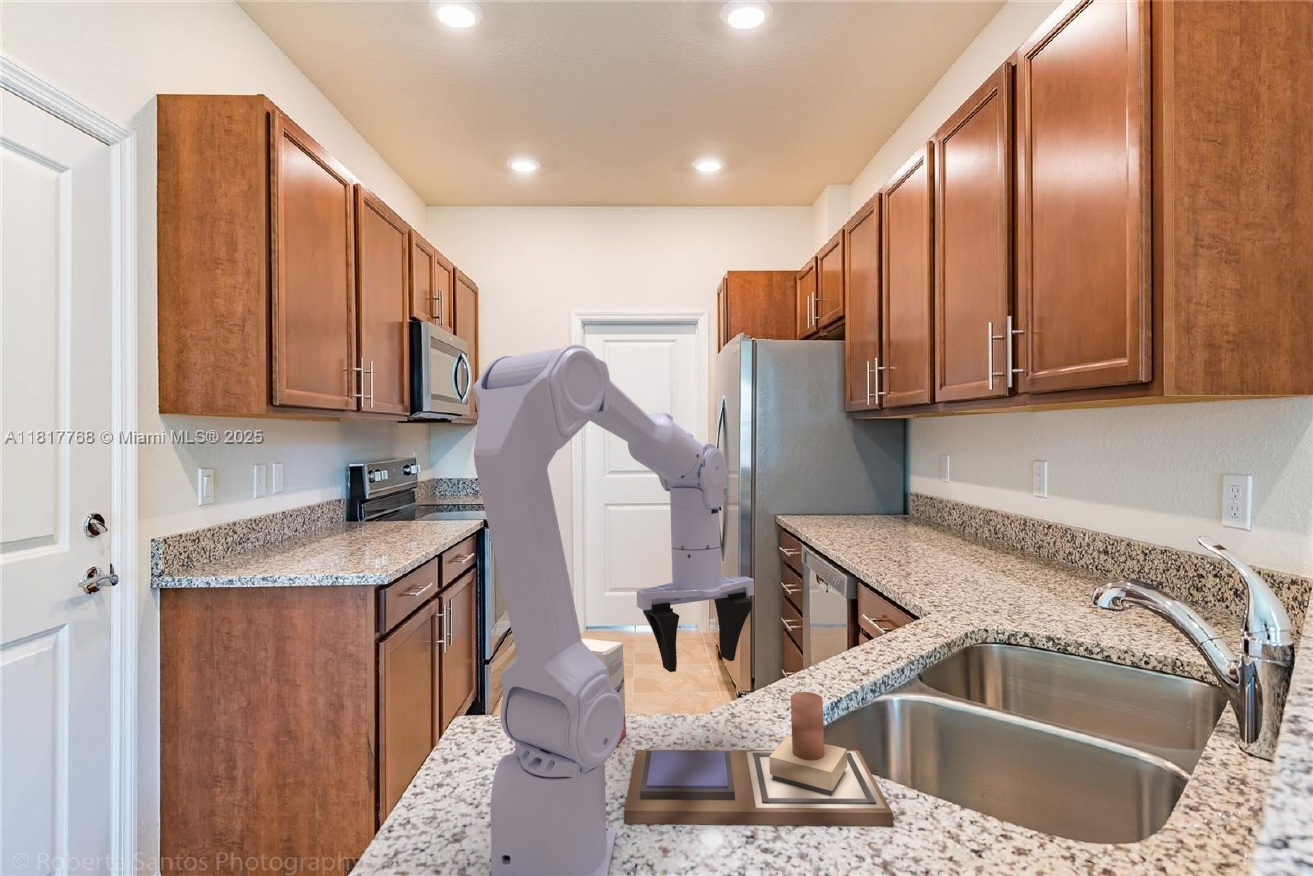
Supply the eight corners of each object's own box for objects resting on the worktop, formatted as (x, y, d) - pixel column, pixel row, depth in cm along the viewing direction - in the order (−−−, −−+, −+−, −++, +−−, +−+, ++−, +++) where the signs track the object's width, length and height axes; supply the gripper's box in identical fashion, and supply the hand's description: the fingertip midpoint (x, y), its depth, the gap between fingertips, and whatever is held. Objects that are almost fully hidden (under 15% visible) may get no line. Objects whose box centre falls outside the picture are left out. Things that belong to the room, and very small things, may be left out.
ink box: (627, 735, 77) (625, 640, 77) (608, 753, 72) (606, 652, 73) (569, 725, 80) (567, 634, 81) (547, 742, 76) (545, 645, 76)
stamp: (770, 780, 63) (767, 701, 63) (788, 757, 68) (786, 683, 68) (832, 797, 60) (829, 713, 60) (847, 772, 64) (844, 694, 64)
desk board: (624, 823, 58) (623, 799, 59) (636, 760, 70) (635, 740, 70) (893, 826, 57) (892, 801, 57) (858, 761, 69) (858, 740, 69)
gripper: (653, 557, 65) (656, 686, 65) (767, 545, 71) (771, 663, 71) (628, 548, 72) (631, 666, 72) (735, 538, 78) (738, 647, 78)
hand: (699, 663), depth 72 cm, fingers open, 7 cm apart
